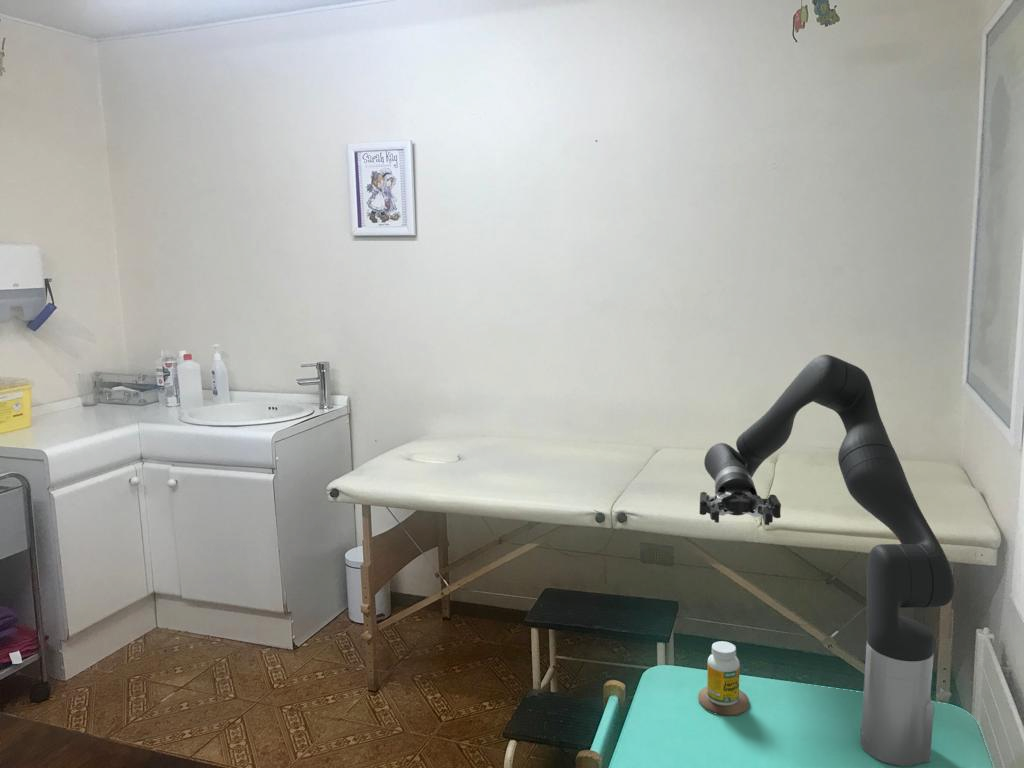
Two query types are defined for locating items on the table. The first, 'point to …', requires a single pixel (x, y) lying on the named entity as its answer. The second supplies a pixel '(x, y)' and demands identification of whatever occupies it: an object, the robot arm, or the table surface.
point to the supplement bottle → (723, 674)
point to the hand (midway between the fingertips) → (742, 518)
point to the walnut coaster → (729, 710)
